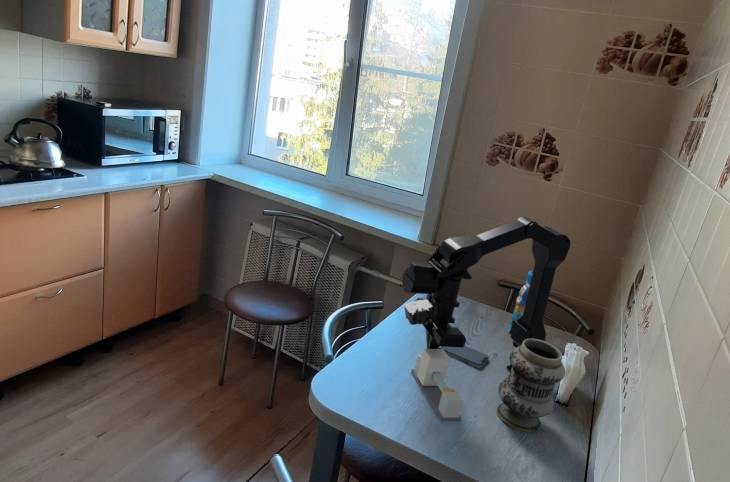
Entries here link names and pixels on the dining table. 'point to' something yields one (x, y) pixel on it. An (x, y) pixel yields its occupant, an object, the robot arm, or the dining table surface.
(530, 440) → the dining table surface
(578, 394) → the dining table surface
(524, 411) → the apothecary jar
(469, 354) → the smartphone
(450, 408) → the grey piece
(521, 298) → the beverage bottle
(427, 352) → the white block
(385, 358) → the dining table surface
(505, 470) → the dining table surface
